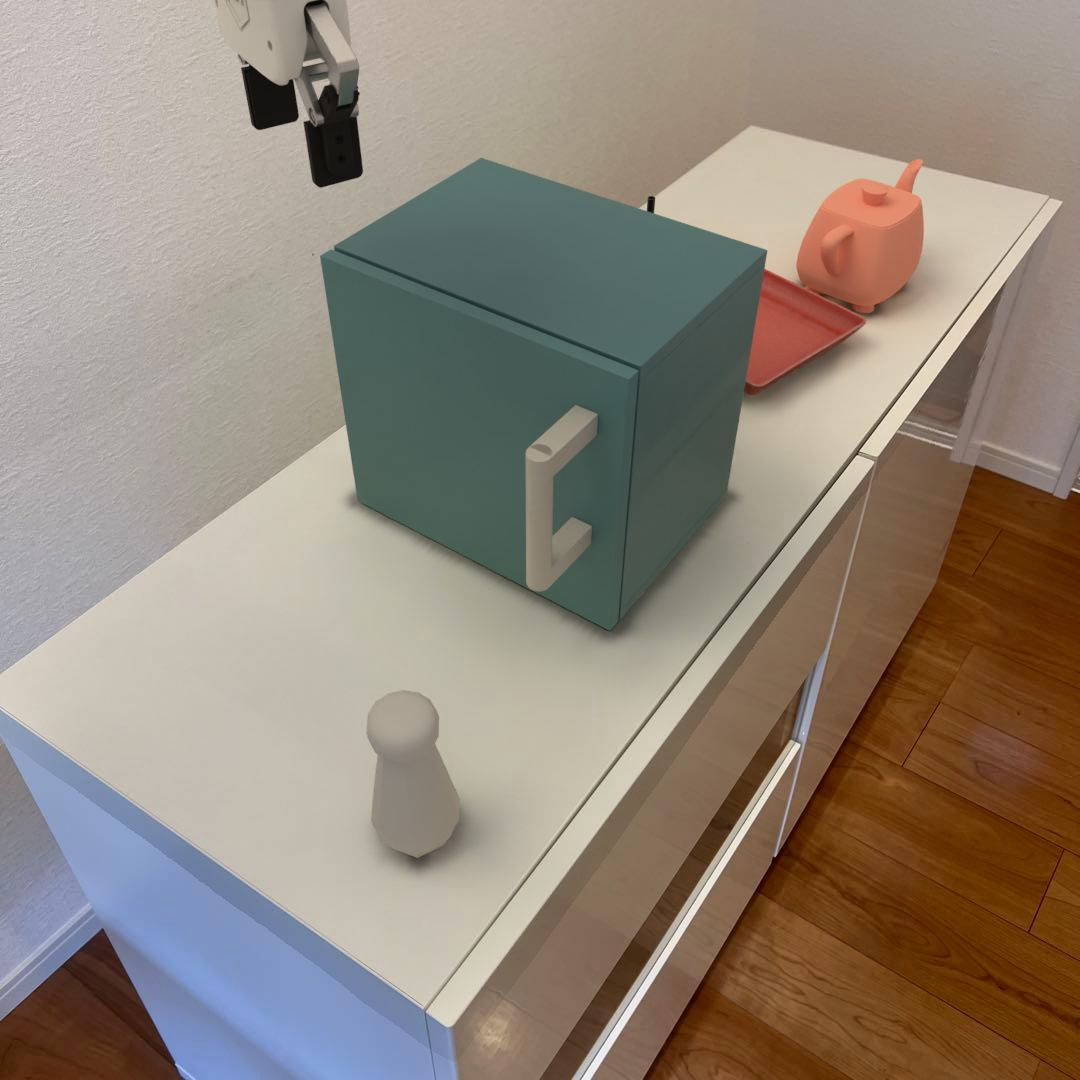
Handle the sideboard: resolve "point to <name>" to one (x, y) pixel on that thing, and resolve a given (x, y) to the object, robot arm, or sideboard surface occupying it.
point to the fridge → (602, 320)
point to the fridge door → (486, 434)
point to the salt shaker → (410, 775)
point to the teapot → (864, 241)
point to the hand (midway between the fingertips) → (306, 151)
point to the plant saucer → (793, 330)
